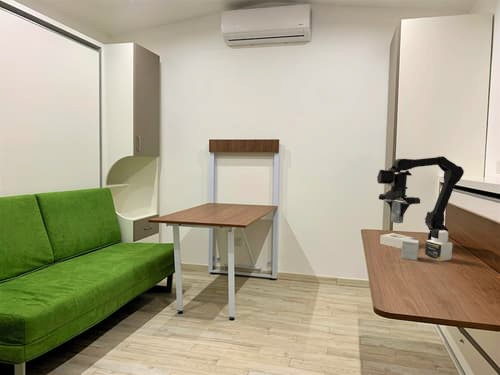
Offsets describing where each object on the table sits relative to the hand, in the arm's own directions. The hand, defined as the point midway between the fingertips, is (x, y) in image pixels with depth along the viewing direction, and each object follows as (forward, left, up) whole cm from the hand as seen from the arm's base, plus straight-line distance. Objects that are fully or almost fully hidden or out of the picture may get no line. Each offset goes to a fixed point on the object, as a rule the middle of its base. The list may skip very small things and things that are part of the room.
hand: (397, 216), depth 171 cm
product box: (-18, +21, -13) cm, 31 cm away
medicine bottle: (-25, +11, -13) cm, 30 cm away
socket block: (-3, +4, -13) cm, 14 cm away
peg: (0, 0, -3) cm, 3 cm away
